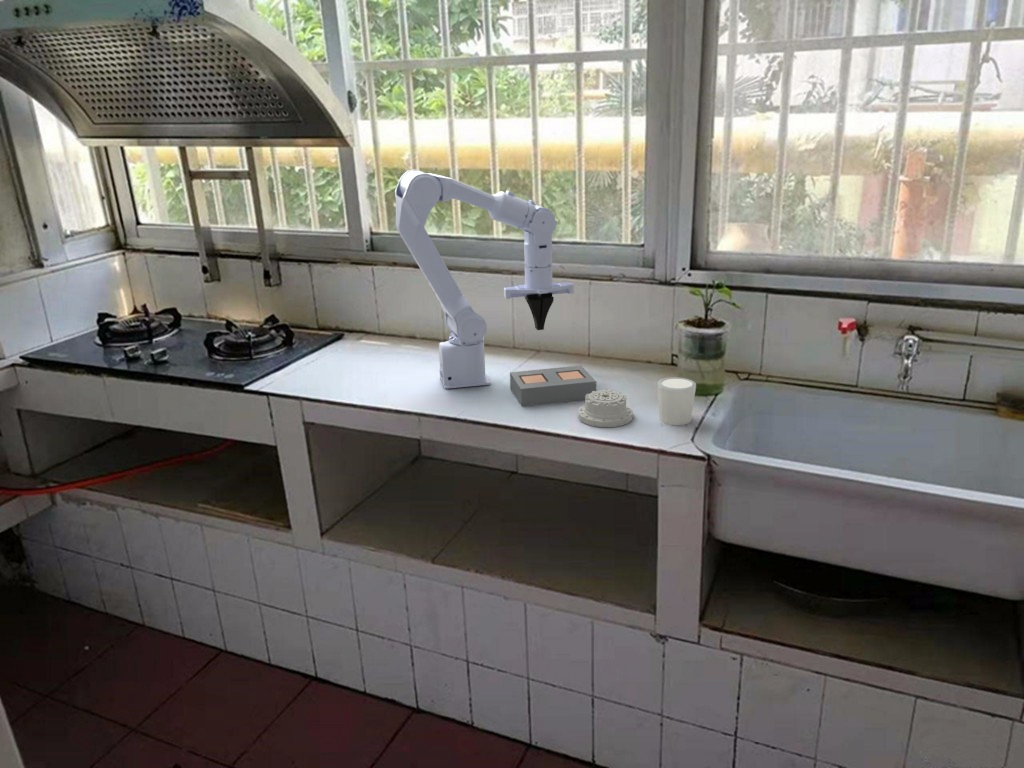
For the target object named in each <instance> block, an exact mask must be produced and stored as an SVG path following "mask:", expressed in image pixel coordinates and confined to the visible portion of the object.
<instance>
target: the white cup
mask: <svg viewBox="0 0 1024 768" xmlns="http://www.w3.org/2000/svg"><path fill="white" fill-rule="evenodd" d="M696 389H697V383H696V382H695V381H693V380H692V379H689V378H685V377H674V376H673V377H670V376H669V377H664V378H662V379H660V380H658V381H657V396H658V414H659V415H658V416H659V421H660V422H662V423H664V424H666V425H671V426H683V425H687V424H689V423H690V422H691V421H692V417H693V408H694V401H695V396H696Z"/></svg>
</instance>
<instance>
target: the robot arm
mask: <svg viewBox="0 0 1024 768" xmlns="http://www.w3.org/2000/svg"><path fill="white" fill-rule="evenodd" d="M394 195H395V227H396V231H397V232H398V235H400V237H401V238H402V241H403V243H404V244H405V246H406V247H407V249H408V251H409V252H410V254H411V255H412V258H413V260H414V261H415V263H416V265H418V267H419V269H420V271H421V273H422V274H423V276H424V278H425V279H426V281H427V283H428V285H429V286H430V288H431V289H432V291H433V293H434V294H435V296H436V298H437V300H438V302H439V303H440V307H441V309H442V311H443V312H444V320H445V325H446V327H447V328H448V329H449V330H450V331H451V332H450V334H449V336H448V340H446V341H441V342H439V343H438V356H439V360H438V361H439V376H440V380H441V382H442V384H443V388H444V389H446V390H447V389H448V390H449V389H457V388H458V389H459V388H467V387H468V388H470V387H479V386H486V385H491V381H490V379H489V378H488V377H489V376H488V375H487V374H486V359H485V357H486V356H485V355H486V354H485V336H486V334H487V330H488V329H487V327H488V326H487V321H486V320H485V318H484V317H483V316H482V315H481V314H479V313H477V312H475V310H474V308H473V307H472V305H471V304H470V302H469V301H468V300H467V299H466V297H465V296H464V294H463V293H462V291H461V289H460V288H459V286H458V285H457V283H456V280H455V278H454V277H453V275H452V273H451V272H450V270H449V269H448V266H447V265H446V263H445V261H444V260H443V258H442V255H440V253H439V251H438V249H437V248H436V246H435V244H434V242H433V240H432V238H431V237H430V236H429V234H428V232H427V230H426V228H425V225H426V222H427V219H428V217H429V214H430V212H431V211H432V210H433V209H434V207H435V206H436V205H437V204H438V202H439V201H440V202H442V203H444V202H448V201H450V200H456V201H461V203H462V202H463V203H465V204H469V205H472V206H474V207H477V208H480V209H482V210H483V209H484V210H486V211H487V212H488V215H489V217H490V218H491V220H494V221H496V222H499V223H502V224H505V225H507V226H510V227H512V228H515V229H518V230H522V231H523V236H524V237H523V238H524V241H523V242H524V243H523V247H524V248H523V249H524V251H523V253H524V255H523V257H524V258H523V259H524V284H520V285H515V286H510V287H509V286H508V287H507V286H506V287H503V298H505V300H508V299H512V298H521V297H524V298H525V301H526V303H527V305H528V307H529V310H530V313H531V314H532V318H533V321H534V328H535V329H536V331H544V330H545V323H546V319H547V316H548V313H549V311H550V309H551V307H552V305H553V303H554V299H555V298H554V296H553V295H559V294H560V295H561V294H572V295H573V294H574V292H575V291H574V284H573V283H572V282H553V237H552V236H553V233H554V232H555V230H556V228H557V225H558V224H557V223H558V222H557V220H556V219H555V215H554V213H553V212H552V211H551V210H550V209H549V208H546V207H544V206H540V205H539V204H536V202H535V200H532V199H528V200H525V199H523V198H520V197H517V196H515V192H513V191H511V190H507V189H506V191H505V192H504V191H498V192H497V193H494V194H490V193H489V192H485V191H483V190H481V189H478V188H476V187H473V186H471V185H469V184H467V183H464V182H461V181H459V180H457V179H454V178H452V177H447V176H444V175H438V174H435V173H429V172H427V173H426V172H423V171H421V170H418V169H411V170H410V169H409V170H407V171H406V172H404V173H403V174H402V175H401V176H400V178H399V180H398V182H397V185H396V188H395V190H394Z"/></svg>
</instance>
